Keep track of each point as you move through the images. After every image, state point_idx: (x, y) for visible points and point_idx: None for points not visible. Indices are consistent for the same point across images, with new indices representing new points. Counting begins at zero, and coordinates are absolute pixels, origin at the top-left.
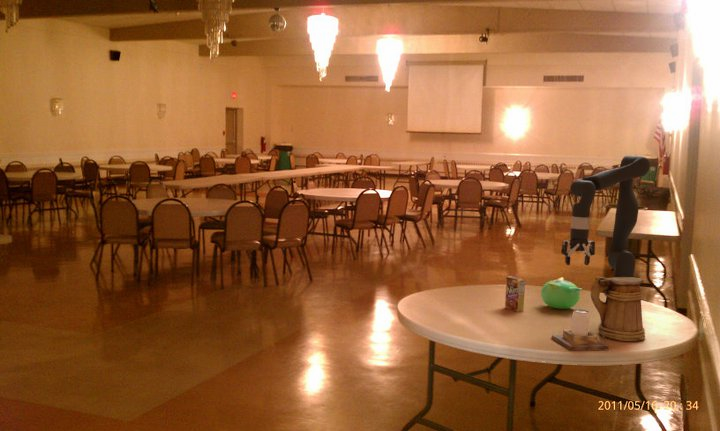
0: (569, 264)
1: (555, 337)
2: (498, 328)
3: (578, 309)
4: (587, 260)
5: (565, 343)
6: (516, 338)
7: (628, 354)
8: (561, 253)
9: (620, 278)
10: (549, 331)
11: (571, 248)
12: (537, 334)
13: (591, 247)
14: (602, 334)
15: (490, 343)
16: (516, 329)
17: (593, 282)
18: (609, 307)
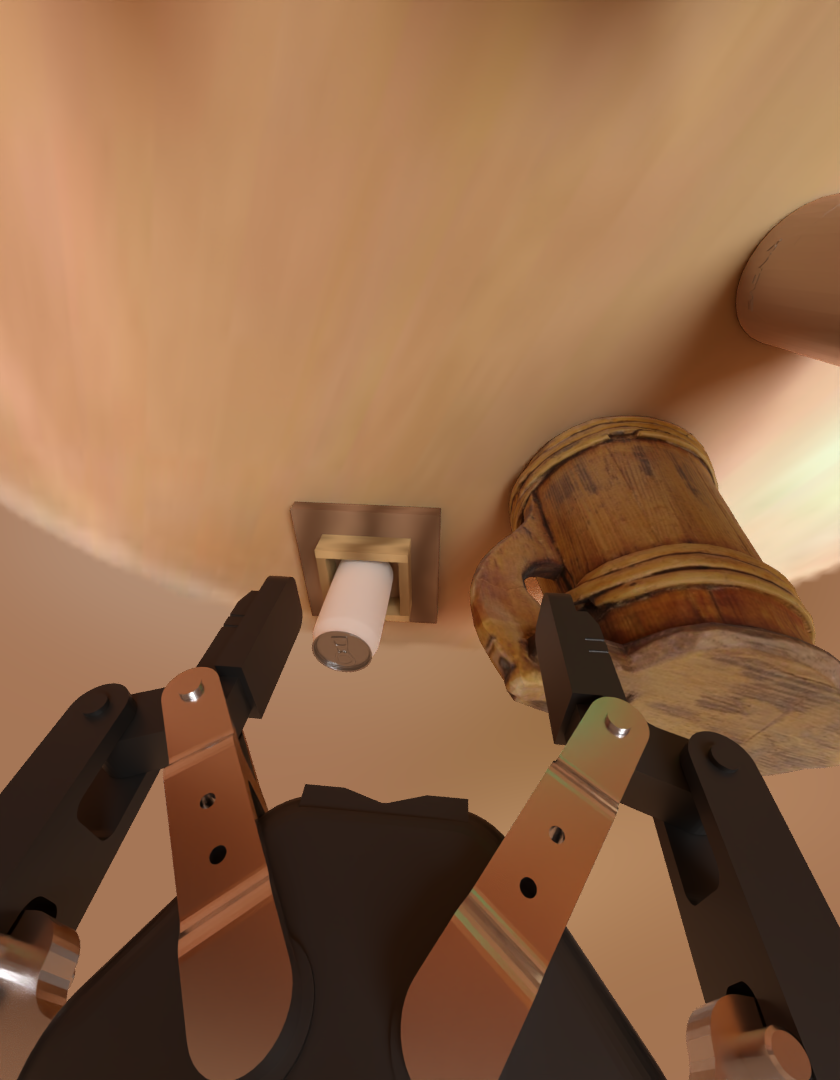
0: (294, 628)
1: (295, 533)
2: (84, 342)
3: (341, 633)
4: (548, 692)
5: (307, 589)
6: (161, 487)
7: (471, 648)
8: (88, 697)
9: (720, 699)
10: (317, 411)
11: (236, 821)
12: (252, 448)
13: (709, 965)
14: (509, 511)
15: (72, 526)
16: (169, 366)
17: (489, 642)
18: (547, 591)
